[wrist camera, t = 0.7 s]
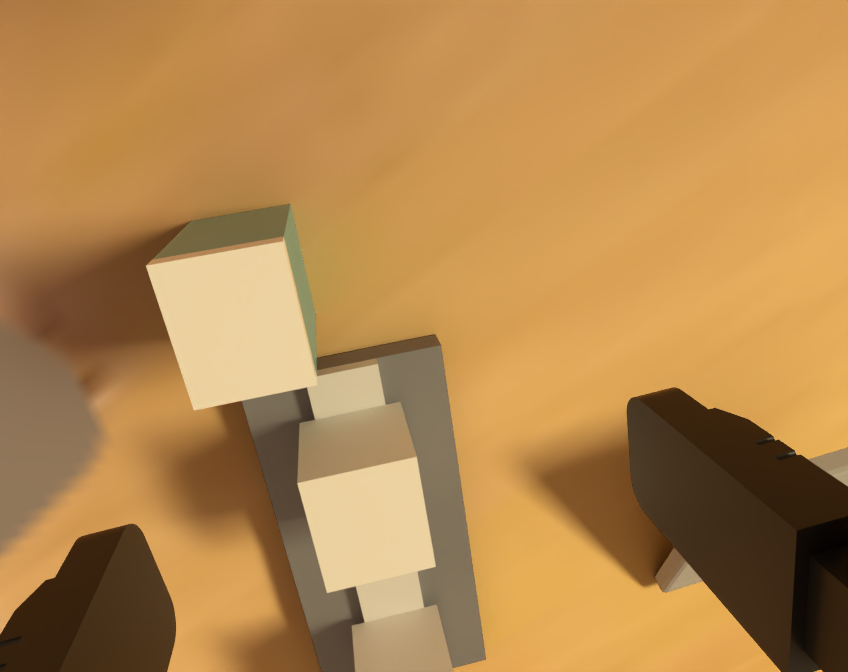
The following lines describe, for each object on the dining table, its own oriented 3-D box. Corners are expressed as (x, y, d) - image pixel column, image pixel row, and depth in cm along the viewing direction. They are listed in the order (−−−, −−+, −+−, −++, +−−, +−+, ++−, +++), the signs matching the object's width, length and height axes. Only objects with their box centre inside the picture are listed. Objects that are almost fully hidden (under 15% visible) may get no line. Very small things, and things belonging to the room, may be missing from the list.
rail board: (240, 373, 30) (220, 450, 23) (435, 334, 31) (468, 397, 24) (329, 678, 38) (332, 798, 32) (479, 639, 40) (513, 748, 33)
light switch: (668, 608, 39) (735, 526, 28) (626, 523, 43) (670, 420, 31) (788, 570, 40) (901, 475, 28) (736, 490, 43) (819, 377, 32)
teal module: (190, 220, 27) (146, 265, 20) (290, 204, 28) (282, 241, 20) (223, 332, 29) (193, 410, 22) (315, 314, 30) (317, 385, 22)
